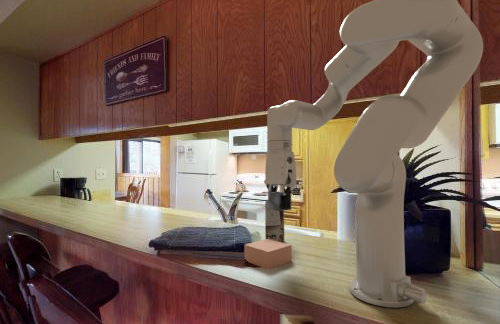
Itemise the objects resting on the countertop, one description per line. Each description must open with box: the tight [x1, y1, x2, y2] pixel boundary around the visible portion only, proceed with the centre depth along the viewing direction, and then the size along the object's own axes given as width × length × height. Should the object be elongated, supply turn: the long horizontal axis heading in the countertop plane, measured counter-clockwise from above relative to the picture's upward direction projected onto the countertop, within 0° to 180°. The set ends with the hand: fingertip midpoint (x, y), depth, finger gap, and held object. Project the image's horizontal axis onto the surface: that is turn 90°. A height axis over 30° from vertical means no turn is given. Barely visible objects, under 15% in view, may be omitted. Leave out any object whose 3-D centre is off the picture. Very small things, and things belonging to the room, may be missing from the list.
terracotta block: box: [243, 239, 293, 270], centre depth 80 cm, size 10×10×5 cm
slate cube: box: [267, 191, 292, 212], centre depth 81 cm, size 5×5×5 cm
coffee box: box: [264, 199, 285, 243], centre depth 99 cm, size 9×6×16 cm
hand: (279, 206), depth 81 cm, fingers closed on slate cube, 5 cm apart
